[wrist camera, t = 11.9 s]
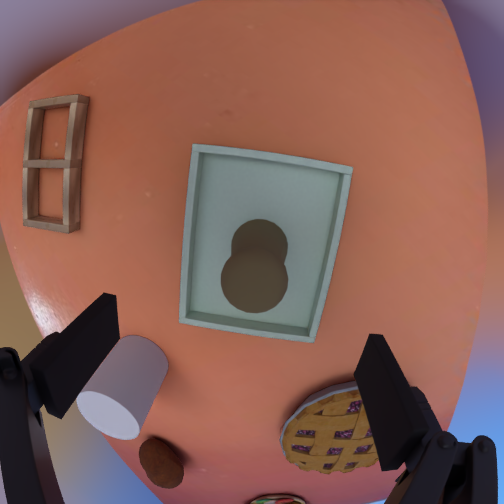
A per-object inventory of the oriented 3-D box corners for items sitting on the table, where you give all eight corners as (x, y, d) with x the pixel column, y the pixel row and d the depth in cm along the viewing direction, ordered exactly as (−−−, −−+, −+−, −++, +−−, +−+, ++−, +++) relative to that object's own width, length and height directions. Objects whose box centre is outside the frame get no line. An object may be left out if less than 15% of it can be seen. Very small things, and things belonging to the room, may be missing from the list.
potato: (169, 432, 43) (157, 467, 36) (199, 466, 46) (191, 498, 39) (135, 433, 45) (121, 465, 37) (166, 467, 48) (157, 496, 40)
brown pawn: (234, 275, 33) (217, 327, 23) (227, 221, 32) (205, 252, 21) (289, 271, 33) (296, 323, 22) (286, 216, 31) (293, 245, 20)
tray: (198, 144, 30) (192, 143, 27) (346, 166, 30) (353, 167, 27) (184, 312, 36) (178, 322, 33) (311, 331, 35) (314, 343, 33)
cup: (114, 366, 40) (78, 419, 28) (119, 326, 37) (75, 379, 26) (163, 388, 40) (136, 447, 29) (173, 349, 38) (142, 412, 26)
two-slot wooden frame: (41, 103, 29) (29, 101, 26) (89, 96, 29) (78, 93, 26) (34, 221, 34) (23, 226, 31) (80, 228, 34) (68, 233, 31)
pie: (280, 374, 38) (280, 400, 33) (428, 360, 36) (442, 381, 31) (278, 460, 44) (278, 482, 39) (394, 448, 42) (400, 467, 38)
